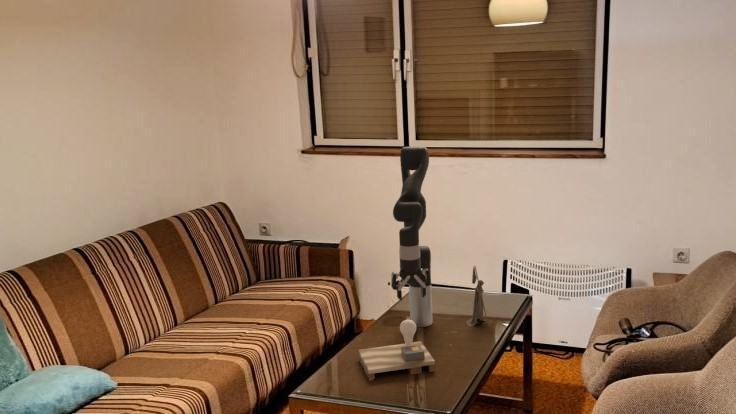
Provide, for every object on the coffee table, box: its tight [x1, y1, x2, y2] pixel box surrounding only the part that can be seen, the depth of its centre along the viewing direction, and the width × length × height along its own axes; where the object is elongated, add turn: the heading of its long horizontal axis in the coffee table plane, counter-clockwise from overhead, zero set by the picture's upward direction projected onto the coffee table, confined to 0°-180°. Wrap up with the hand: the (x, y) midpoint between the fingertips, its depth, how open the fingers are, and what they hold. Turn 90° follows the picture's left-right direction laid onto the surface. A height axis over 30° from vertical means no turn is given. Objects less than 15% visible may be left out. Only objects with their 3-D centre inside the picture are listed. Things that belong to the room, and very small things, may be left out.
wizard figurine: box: [466, 265, 489, 327], centre depth 293 cm, size 10×8×25 cm
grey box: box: [401, 345, 425, 362], centre depth 256 cm, size 6×7×3 cm
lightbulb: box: [399, 319, 417, 347], centre depth 264 cm, size 6×6×11 cm
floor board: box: [358, 340, 436, 381], centre depth 260 cm, size 18×24×4 cm
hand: (411, 298), depth 262 cm, fingers open, 8 cm apart
